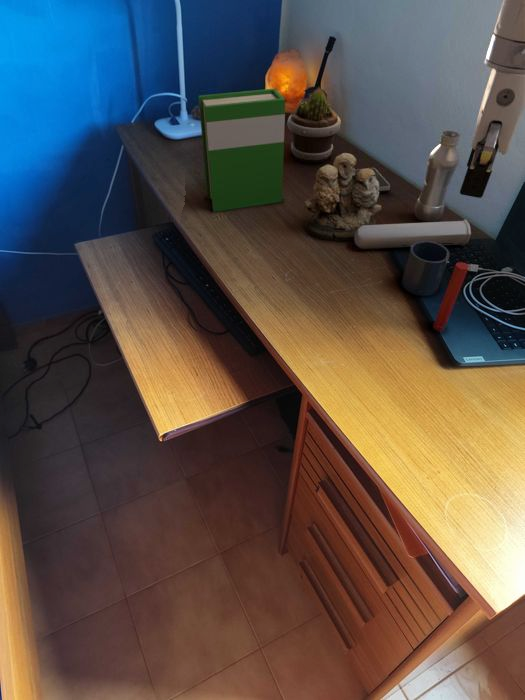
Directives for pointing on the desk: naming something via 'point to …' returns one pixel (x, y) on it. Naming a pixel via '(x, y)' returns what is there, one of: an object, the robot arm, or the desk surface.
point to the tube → (412, 234)
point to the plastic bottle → (438, 178)
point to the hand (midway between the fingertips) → (473, 181)
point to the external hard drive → (383, 183)
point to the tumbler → (425, 267)
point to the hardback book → (243, 147)
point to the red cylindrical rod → (450, 295)
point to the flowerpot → (313, 128)
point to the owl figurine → (342, 200)
